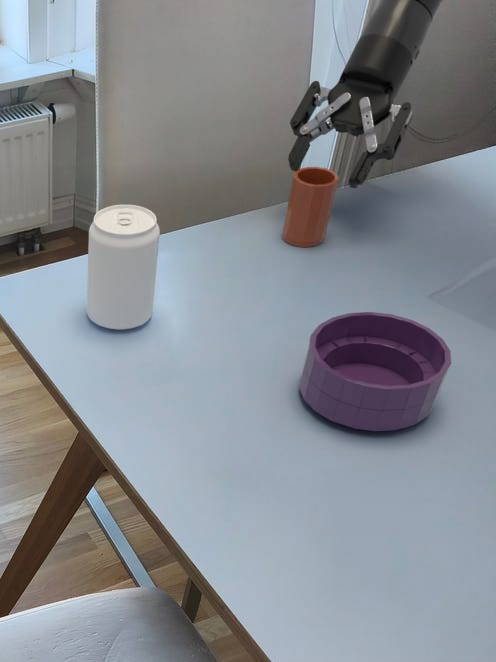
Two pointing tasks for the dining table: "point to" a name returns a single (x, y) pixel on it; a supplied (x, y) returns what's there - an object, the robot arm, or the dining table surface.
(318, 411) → the bowl
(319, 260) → the dining table surface
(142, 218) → the beverage can
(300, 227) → the cup
